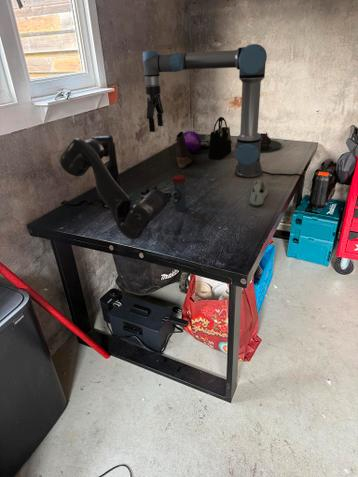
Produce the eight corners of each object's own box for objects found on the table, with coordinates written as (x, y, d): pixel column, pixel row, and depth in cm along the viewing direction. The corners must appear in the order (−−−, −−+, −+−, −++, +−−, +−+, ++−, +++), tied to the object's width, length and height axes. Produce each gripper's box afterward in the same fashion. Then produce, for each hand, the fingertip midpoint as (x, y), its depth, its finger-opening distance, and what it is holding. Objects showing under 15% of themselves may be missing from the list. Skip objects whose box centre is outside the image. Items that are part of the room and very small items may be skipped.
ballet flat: (269, 188, 169) (270, 173, 165) (265, 208, 149) (266, 191, 145) (252, 187, 171) (253, 172, 167) (246, 206, 151) (247, 190, 147)
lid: (171, 181, 147) (170, 176, 146) (181, 178, 149) (181, 174, 148) (176, 184, 143) (176, 180, 142) (187, 181, 145) (187, 177, 144)
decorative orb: (204, 151, 235) (204, 129, 228) (194, 156, 225) (193, 134, 217) (186, 149, 243) (186, 128, 235) (175, 154, 232) (174, 132, 224)
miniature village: (250, 138, 260) (251, 126, 256) (289, 145, 237) (291, 132, 233) (223, 147, 242) (223, 134, 237) (263, 155, 219) (264, 141, 215)
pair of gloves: (198, 150, 238) (197, 143, 235) (183, 143, 258) (183, 136, 256) (233, 144, 247) (234, 137, 245) (217, 137, 268) (217, 131, 265)
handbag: (219, 160, 215) (219, 120, 202) (207, 158, 219) (206, 119, 207) (232, 152, 230) (233, 114, 217) (220, 150, 234) (221, 113, 222)
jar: (174, 209, 154) (171, 177, 146) (182, 206, 156) (181, 175, 148) (178, 212, 150) (176, 180, 142) (187, 210, 152) (186, 178, 144)
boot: (194, 157, 223) (193, 127, 213) (188, 169, 203) (187, 135, 193) (182, 157, 225) (180, 127, 215) (174, 168, 205) (172, 136, 194)
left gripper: (133, 210, 115) (148, 196, 129) (172, 216, 112) (183, 201, 127) (133, 190, 112) (149, 177, 126) (173, 196, 109) (185, 182, 123)
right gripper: (153, 83, 178) (157, 124, 189) (137, 88, 157) (141, 134, 168) (167, 82, 176) (169, 123, 187) (151, 88, 156) (155, 134, 166)
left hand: (166, 189), depth 126 cm, fingers open, 8 cm apart
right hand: (156, 128), depth 177 cm, fingers open, 13 cm apart
